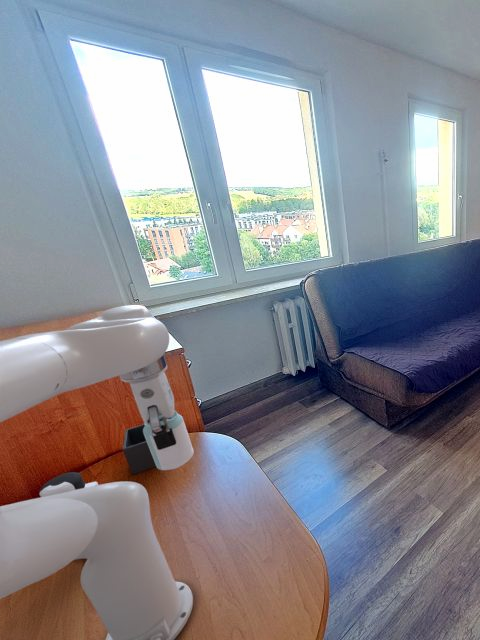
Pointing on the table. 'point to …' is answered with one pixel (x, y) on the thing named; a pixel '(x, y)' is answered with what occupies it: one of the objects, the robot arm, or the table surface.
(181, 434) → the can
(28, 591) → the table surface
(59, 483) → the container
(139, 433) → the bin
